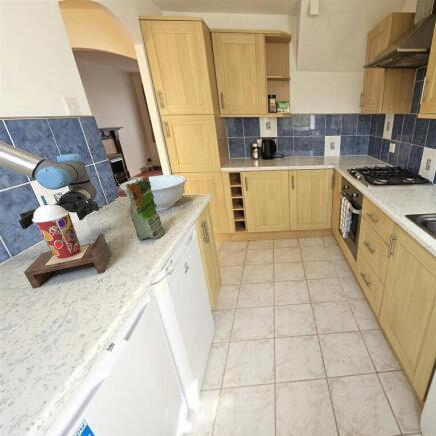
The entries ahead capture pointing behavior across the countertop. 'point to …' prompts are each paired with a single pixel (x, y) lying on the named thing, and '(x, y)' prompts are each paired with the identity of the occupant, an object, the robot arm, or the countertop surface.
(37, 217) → the smoothie
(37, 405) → the countertop surface
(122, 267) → the countertop surface
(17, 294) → the countertop surface
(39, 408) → the countertop surface
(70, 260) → the shelf
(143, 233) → the pouch
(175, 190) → the bowl
